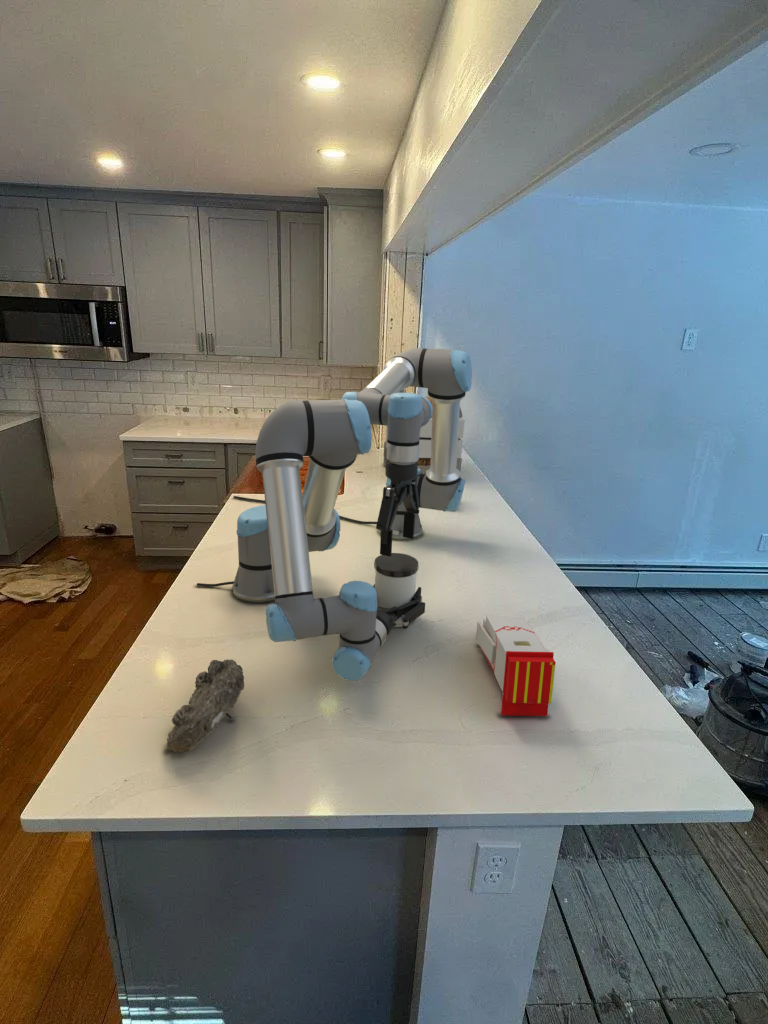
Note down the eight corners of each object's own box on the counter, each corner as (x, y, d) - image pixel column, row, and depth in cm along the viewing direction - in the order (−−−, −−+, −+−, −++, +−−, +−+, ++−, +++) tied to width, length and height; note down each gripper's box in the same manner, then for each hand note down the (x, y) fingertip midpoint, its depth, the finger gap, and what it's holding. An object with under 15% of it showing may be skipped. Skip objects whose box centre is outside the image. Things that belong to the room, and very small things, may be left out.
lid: (400, 555, 149) (400, 549, 148) (427, 571, 140) (427, 565, 140) (365, 564, 143) (365, 558, 142) (391, 581, 134) (392, 575, 134)
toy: (522, 601, 137) (564, 658, 107) (517, 652, 139) (557, 722, 110) (472, 600, 136) (500, 657, 107) (468, 651, 139) (495, 721, 110)
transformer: (382, 463, 289) (386, 382, 275) (445, 464, 293) (451, 384, 279) (390, 482, 257) (394, 392, 243) (460, 483, 261) (468, 394, 247)
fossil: (192, 660, 117) (244, 628, 112) (224, 691, 120) (276, 661, 115) (142, 746, 98) (202, 712, 93) (182, 779, 101) (242, 748, 96)
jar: (397, 603, 153) (400, 551, 148) (421, 619, 145) (425, 566, 140) (365, 613, 147) (367, 560, 142) (389, 631, 139) (392, 576, 134)
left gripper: (324, 634, 132) (357, 592, 152) (419, 655, 126) (441, 608, 146) (325, 606, 130) (358, 567, 150) (422, 625, 124) (443, 582, 144)
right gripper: (409, 448, 144) (404, 527, 151) (362, 469, 124) (359, 559, 131) (436, 453, 141) (430, 533, 148) (393, 475, 120) (388, 567, 128)
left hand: (399, 587), depth 148 cm, fingers closed on jar, 10 cm apart
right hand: (397, 546), depth 140 cm, fingers open, 12 cm apart
